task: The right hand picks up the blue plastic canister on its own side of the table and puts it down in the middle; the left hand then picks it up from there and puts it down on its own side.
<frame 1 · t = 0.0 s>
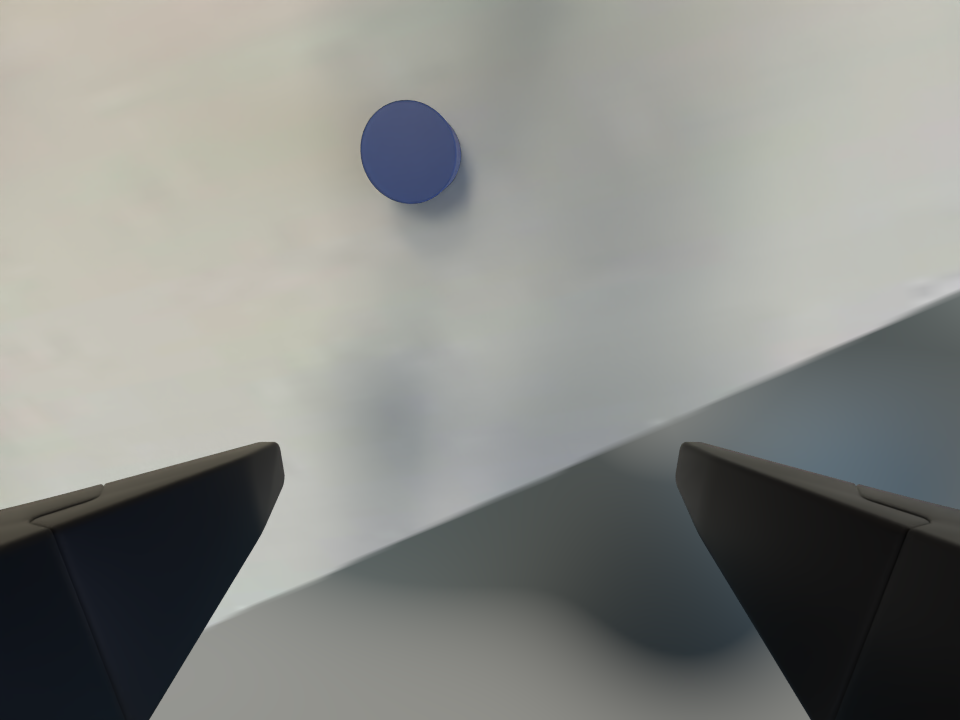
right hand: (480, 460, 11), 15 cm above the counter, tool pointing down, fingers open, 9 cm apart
canister: (421, 154, 23), on the counter
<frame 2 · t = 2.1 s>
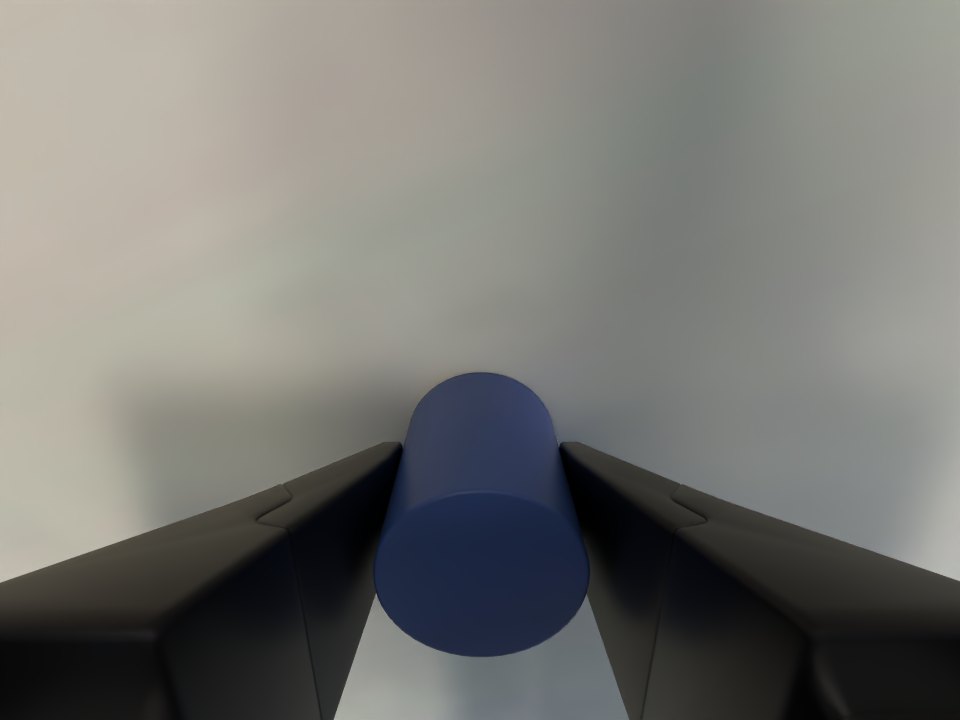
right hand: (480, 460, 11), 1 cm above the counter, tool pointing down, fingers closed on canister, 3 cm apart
canister: (480, 438, 12), on the counter, touching right hand
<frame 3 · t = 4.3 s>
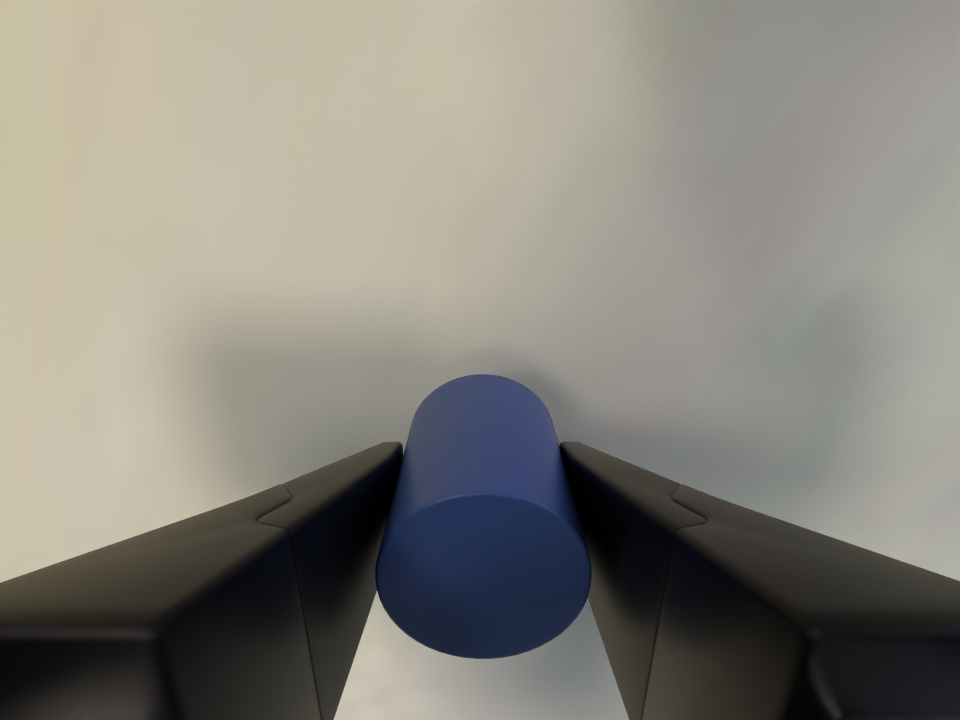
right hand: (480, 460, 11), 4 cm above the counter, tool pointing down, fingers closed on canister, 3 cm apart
canister: (482, 439, 12), point 3 cm above the counter, touching right hand
when the right hand's fingers open (2 cm above the counter, at t = 6.4 s): canister stays where it is, on the counter.
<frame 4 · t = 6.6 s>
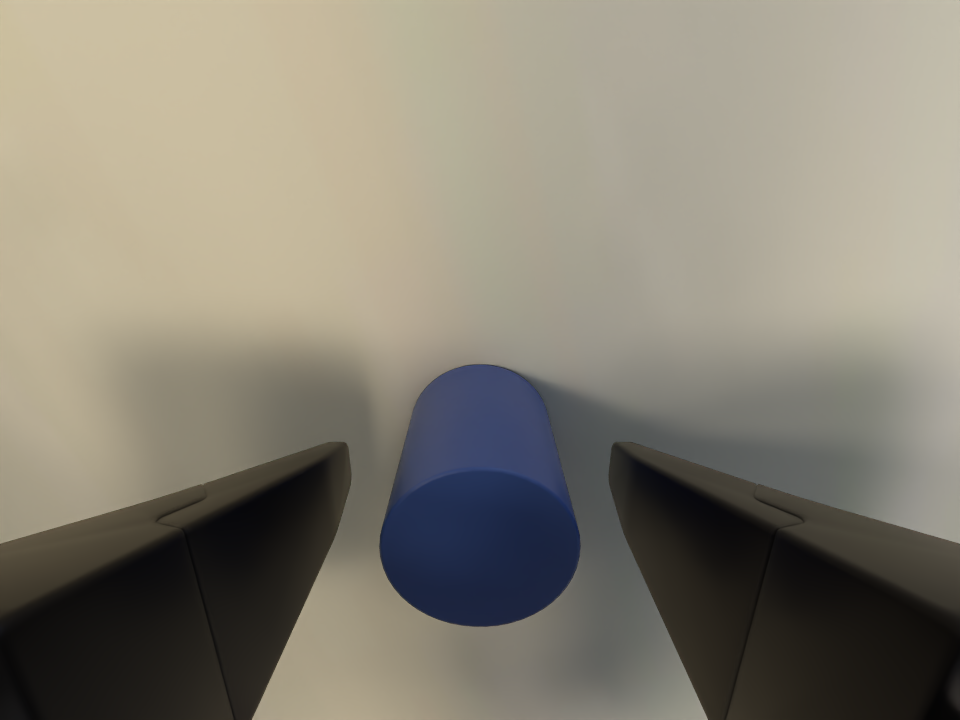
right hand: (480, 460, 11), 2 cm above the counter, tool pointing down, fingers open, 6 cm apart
canister: (479, 427, 13), on the counter
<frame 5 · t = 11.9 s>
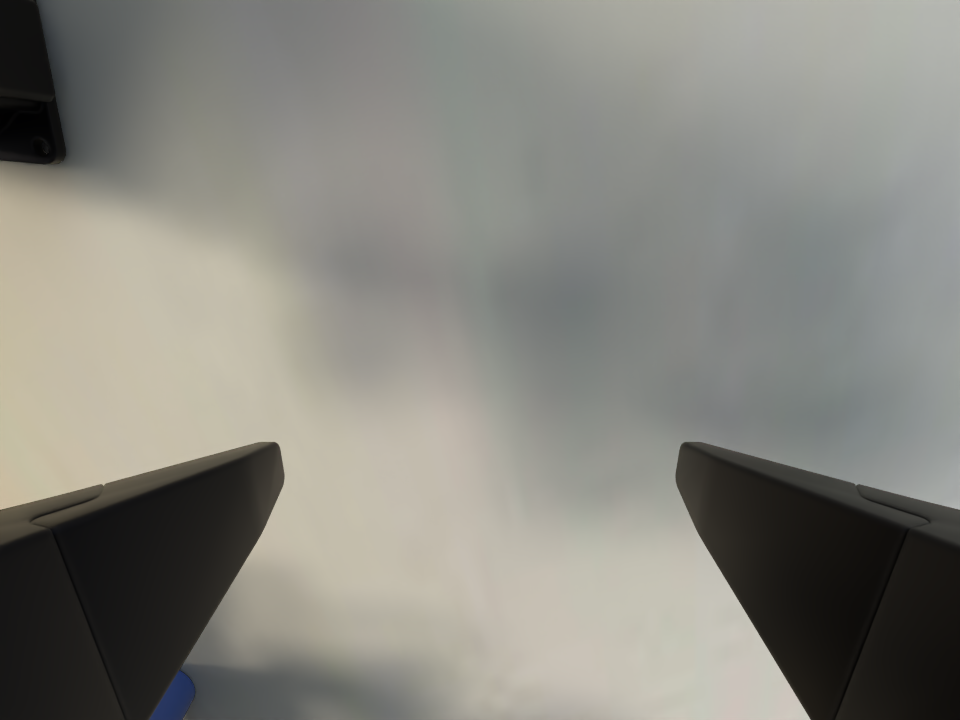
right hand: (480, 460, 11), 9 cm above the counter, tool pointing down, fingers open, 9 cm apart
canister: (161, 686, 26), on the counter, touching left hand
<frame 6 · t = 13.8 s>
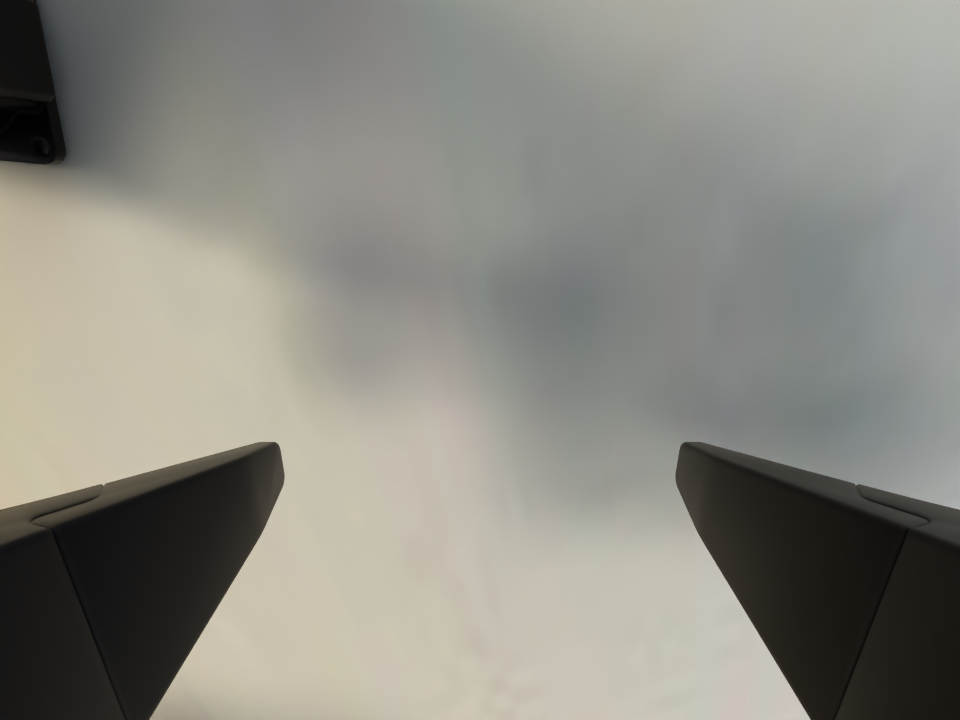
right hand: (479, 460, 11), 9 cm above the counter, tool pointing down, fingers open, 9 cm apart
when the left hand's fingers open (2 cm above the counter, at t = 16.1 s): canister stays where it is, on the counter.
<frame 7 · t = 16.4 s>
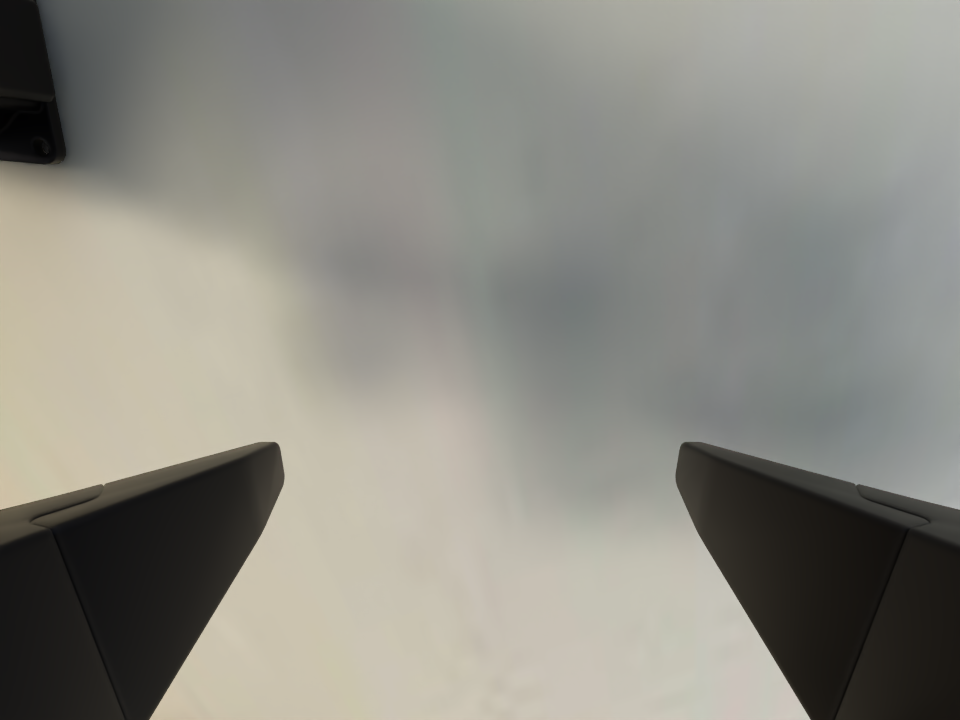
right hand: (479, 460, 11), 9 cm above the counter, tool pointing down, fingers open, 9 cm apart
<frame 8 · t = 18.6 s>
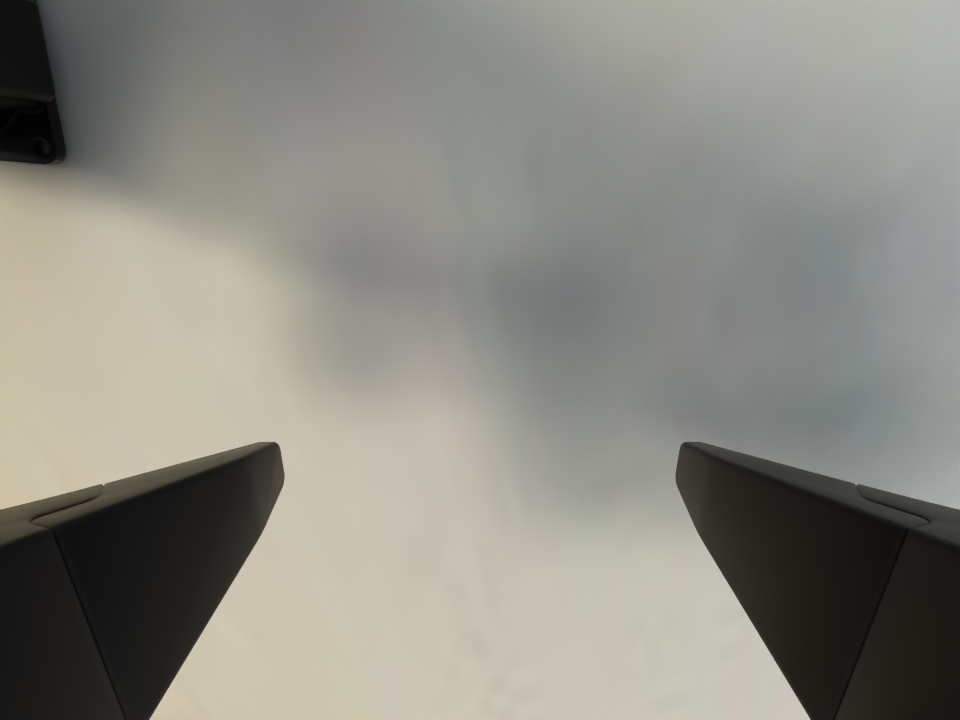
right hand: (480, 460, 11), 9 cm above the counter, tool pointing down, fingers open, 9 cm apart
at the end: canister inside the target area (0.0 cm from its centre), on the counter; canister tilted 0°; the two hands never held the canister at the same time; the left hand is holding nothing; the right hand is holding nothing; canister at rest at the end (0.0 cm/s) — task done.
